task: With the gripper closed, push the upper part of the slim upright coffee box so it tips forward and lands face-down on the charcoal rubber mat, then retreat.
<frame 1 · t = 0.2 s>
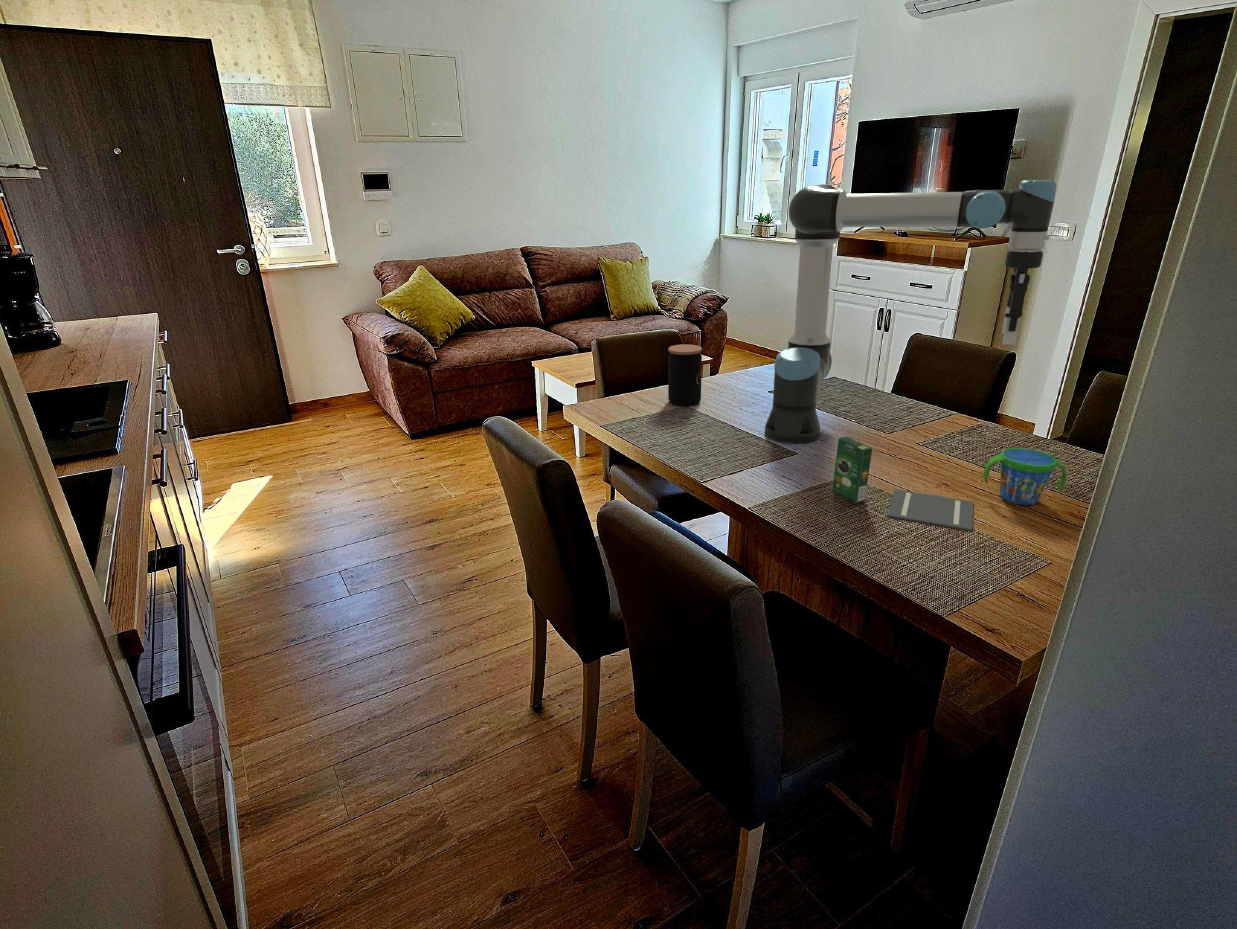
hand: (1008, 338, 168), 28 cm above the table, fingers open, 13 cm apart
mat: (930, 509, 144), on the table
coffee jar: (684, 403, 220), on the table
coffee box: (848, 497, 151), on the table
snack cup: (1018, 500, 148), on the table
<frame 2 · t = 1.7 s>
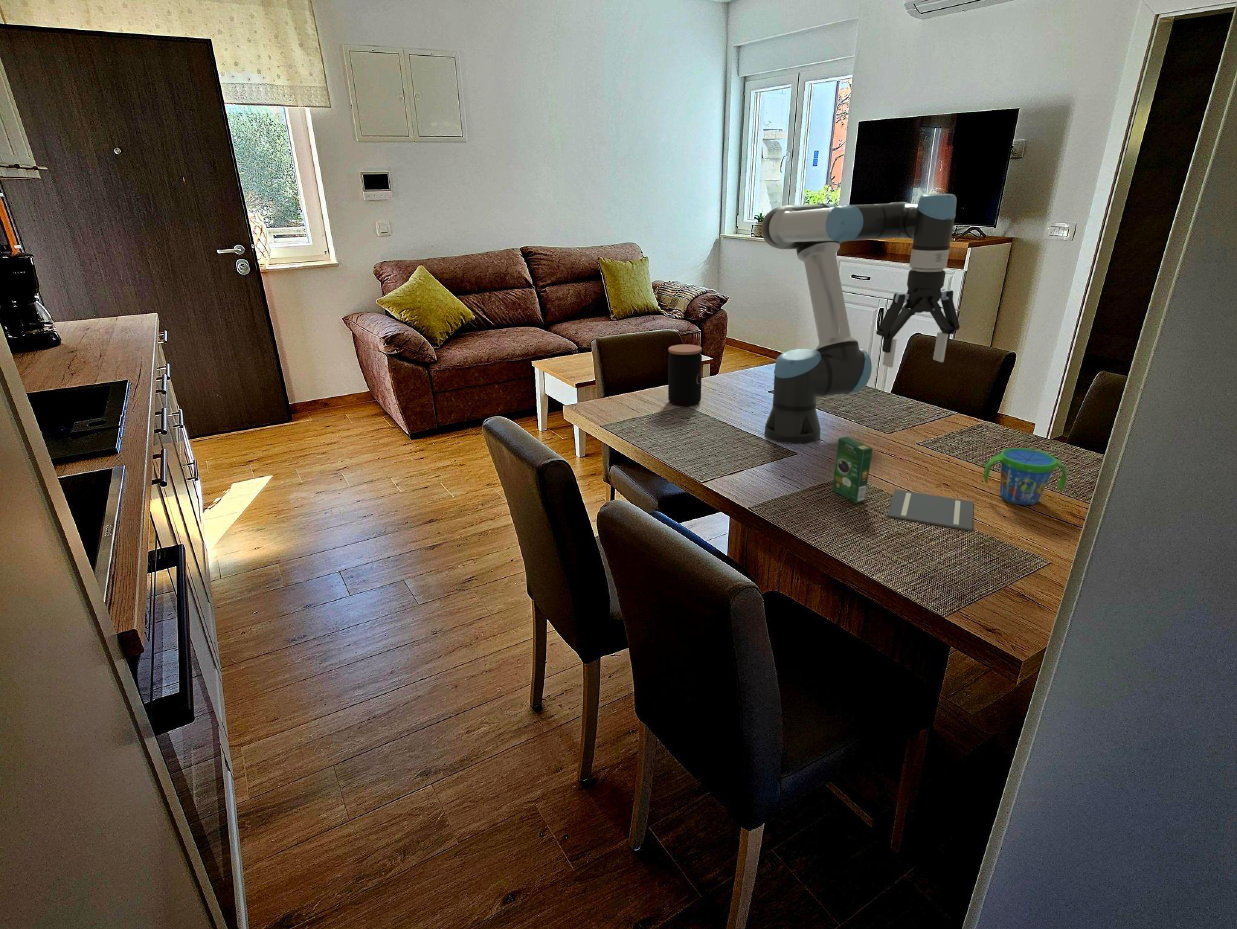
hand: (913, 363, 157), 26 cm above the table, fingers open, 13 cm apart
nothing on the table moved.
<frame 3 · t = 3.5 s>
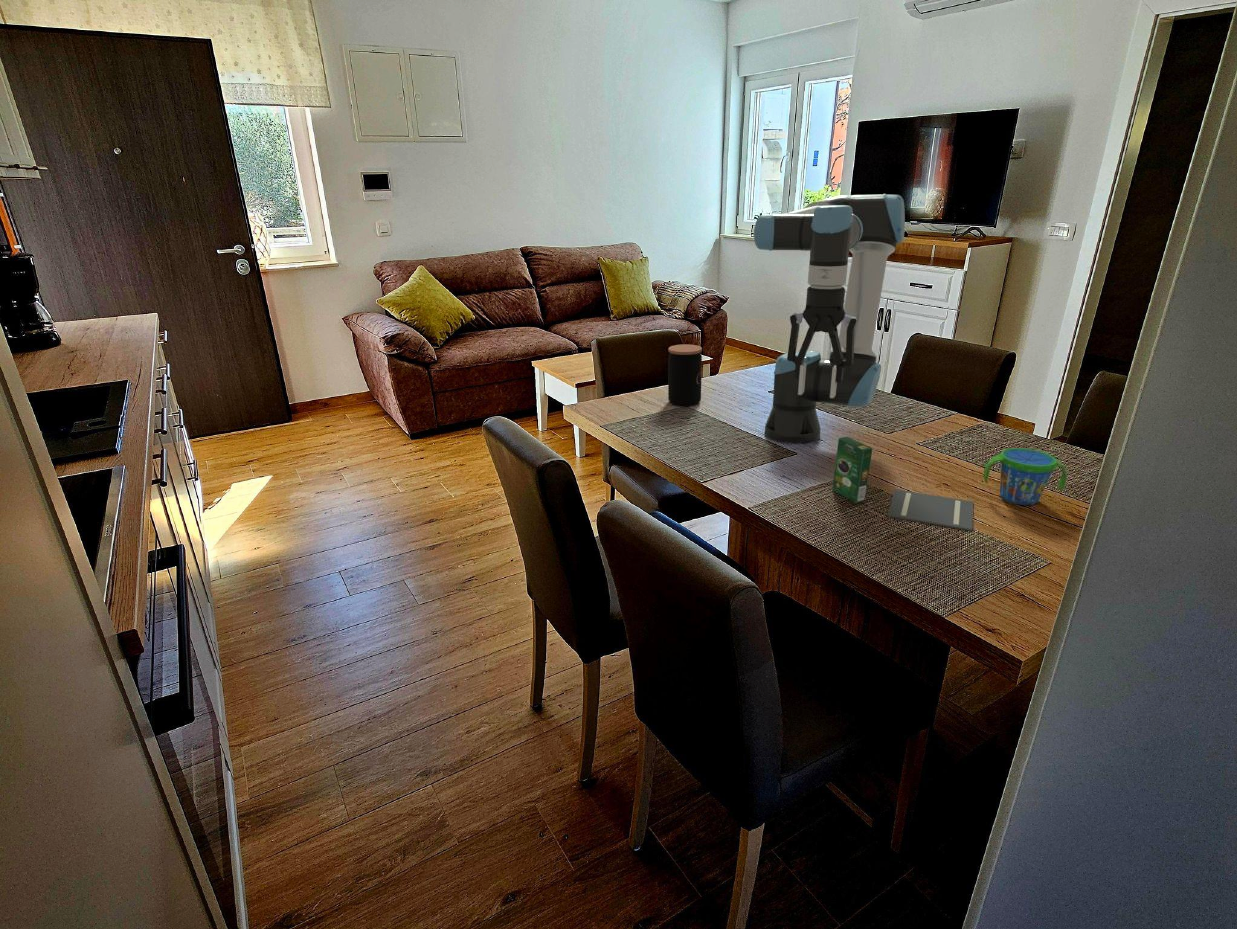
hand: (816, 394, 146), 23 cm above the table, fingers open, 6 cm apart
nothing on the table moved.
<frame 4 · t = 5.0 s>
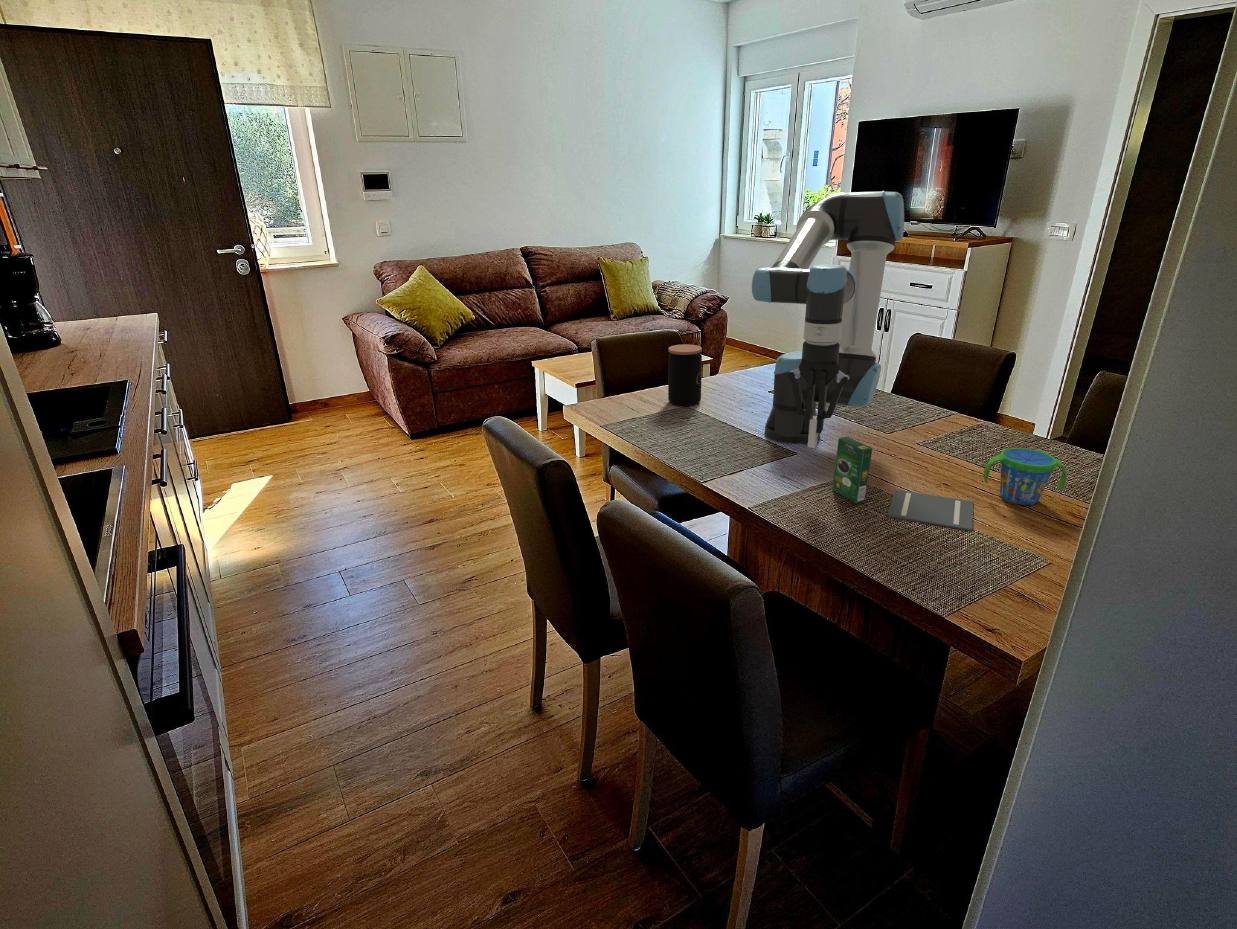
hand: (812, 445, 151), 11 cm above the table, fingers closed
nothing on the table moved.
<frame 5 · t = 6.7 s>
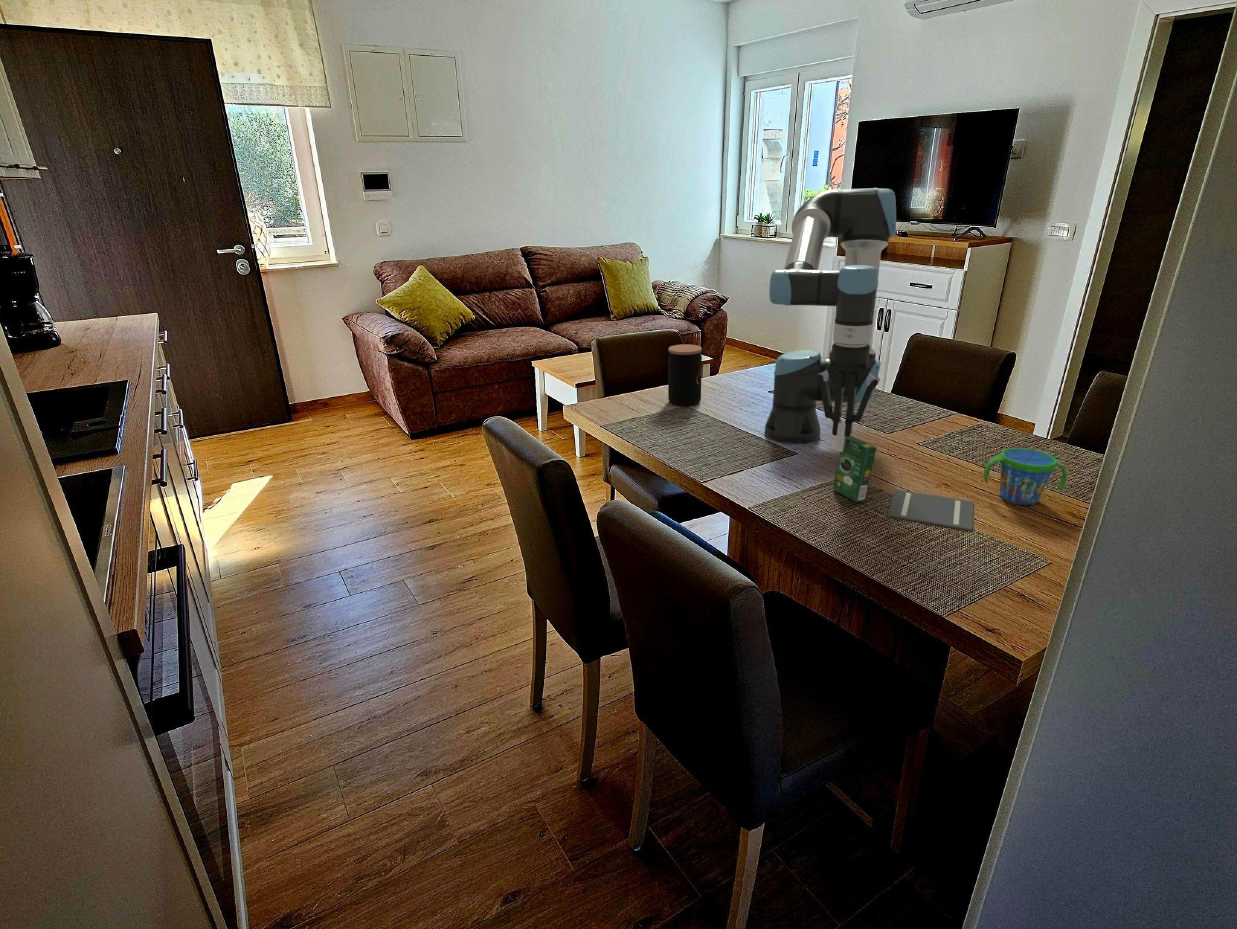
hand: (840, 449, 148), 11 cm above the table, fingers closed
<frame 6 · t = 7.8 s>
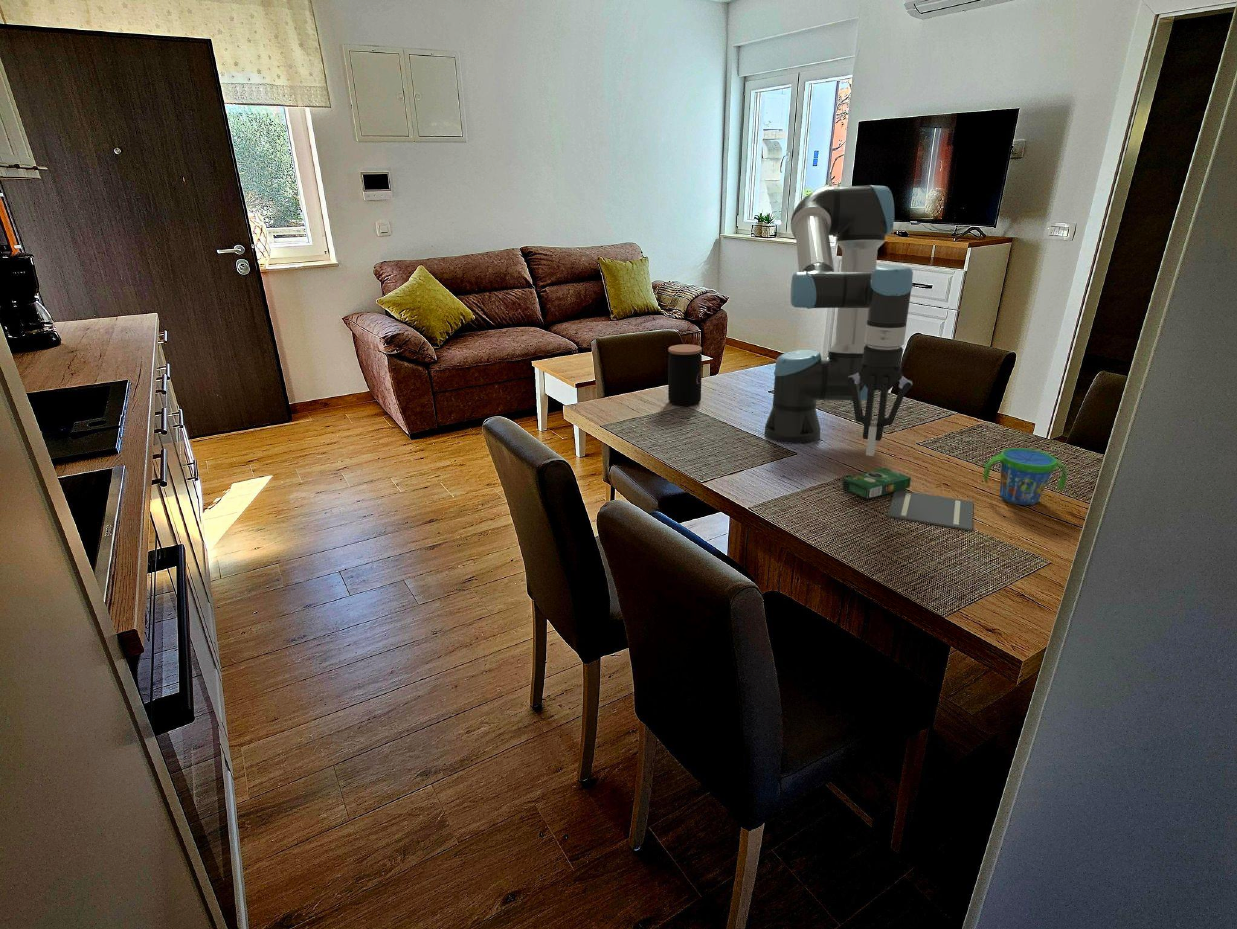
hand: (870, 453, 146), 11 cm above the table, fingers closed
coffee box: (854, 489, 151), point 2 cm above the table, touching mat
everything else where it was.
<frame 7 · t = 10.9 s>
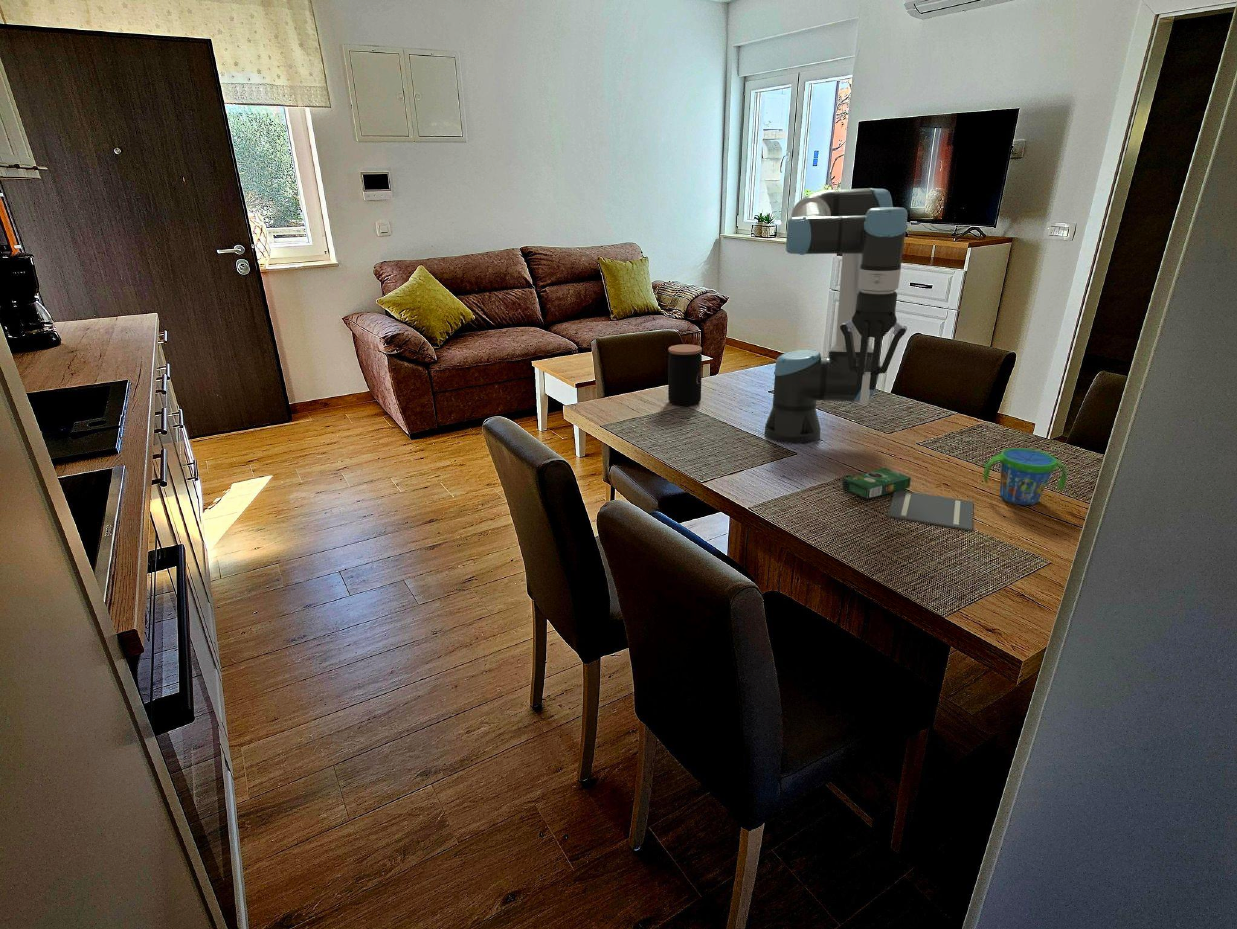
hand: (864, 403, 143), 22 cm above the table, fingers closed
nothing on the table moved.
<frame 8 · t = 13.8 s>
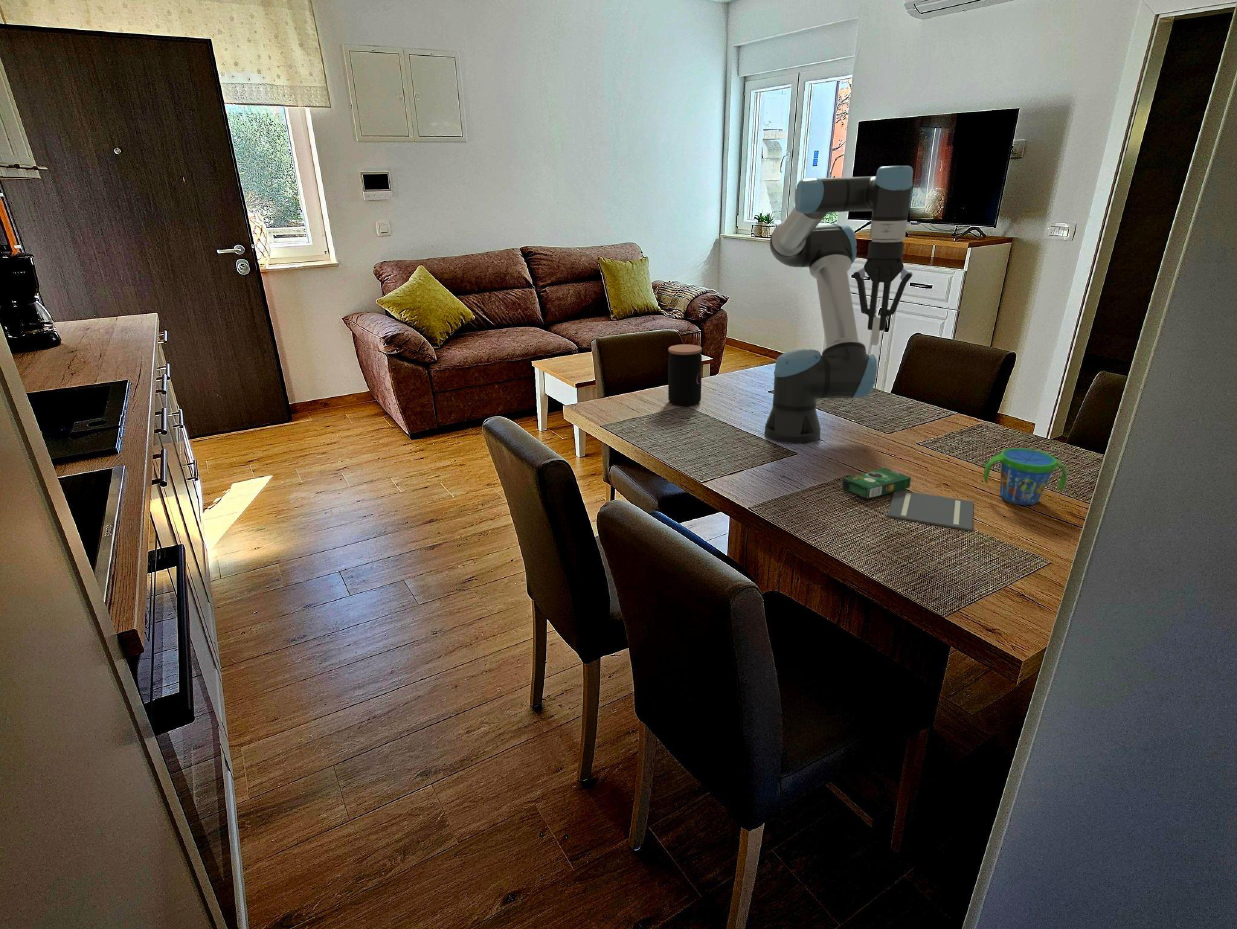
hand: (874, 343, 161), 29 cm above the table, fingers closed
nothing on the table moved.
at the end: coffee box tilted 90°; coffee box touching mat, table; coffee box inside the target area (10.6 cm from its centre), point 1.6 cm above the table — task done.
